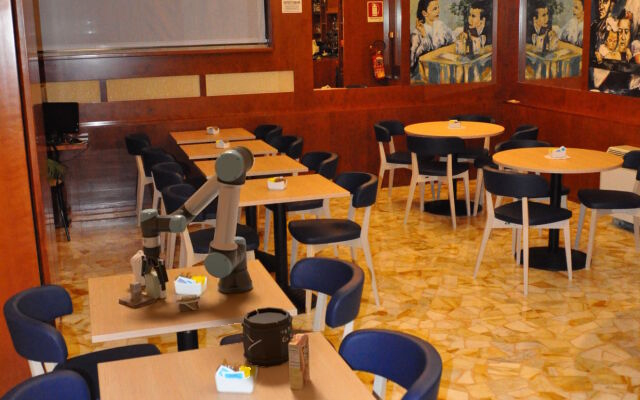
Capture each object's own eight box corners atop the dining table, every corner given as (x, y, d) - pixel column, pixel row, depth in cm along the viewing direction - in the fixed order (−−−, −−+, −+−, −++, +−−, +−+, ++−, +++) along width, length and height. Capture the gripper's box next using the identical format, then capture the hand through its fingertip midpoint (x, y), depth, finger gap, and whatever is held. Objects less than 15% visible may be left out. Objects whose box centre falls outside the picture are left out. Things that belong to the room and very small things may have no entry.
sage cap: (166, 294, 344) (164, 273, 342) (154, 298, 340) (152, 277, 338) (158, 292, 348) (156, 271, 346) (146, 295, 344) (144, 274, 342)
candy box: (298, 376, 260) (296, 333, 257) (310, 378, 259) (308, 334, 255) (289, 389, 252) (287, 344, 248) (302, 390, 251) (300, 345, 247)
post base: (155, 301, 337) (153, 282, 335) (135, 308, 329) (133, 289, 328) (138, 295, 345) (136, 277, 343) (119, 302, 337) (117, 283, 336)
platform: (215, 312, 322) (213, 296, 321) (171, 320, 316) (169, 304, 314) (207, 303, 333) (206, 288, 332) (164, 310, 327) (163, 295, 325)
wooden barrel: (246, 347, 285) (243, 306, 282) (296, 346, 284) (294, 305, 281) (238, 369, 268) (235, 325, 264) (291, 368, 267) (289, 324, 263)
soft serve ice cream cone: (138, 288, 354) (135, 254, 350) (129, 284, 360) (125, 250, 356) (154, 284, 359) (151, 250, 356) (145, 280, 365) (142, 246, 362)
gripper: (129, 243, 344) (134, 292, 349) (159, 251, 329) (164, 302, 334) (143, 239, 349) (148, 287, 354) (174, 247, 334) (178, 297, 339)
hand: (156, 294), depth 344 cm, fingers open, 9 cm apart
